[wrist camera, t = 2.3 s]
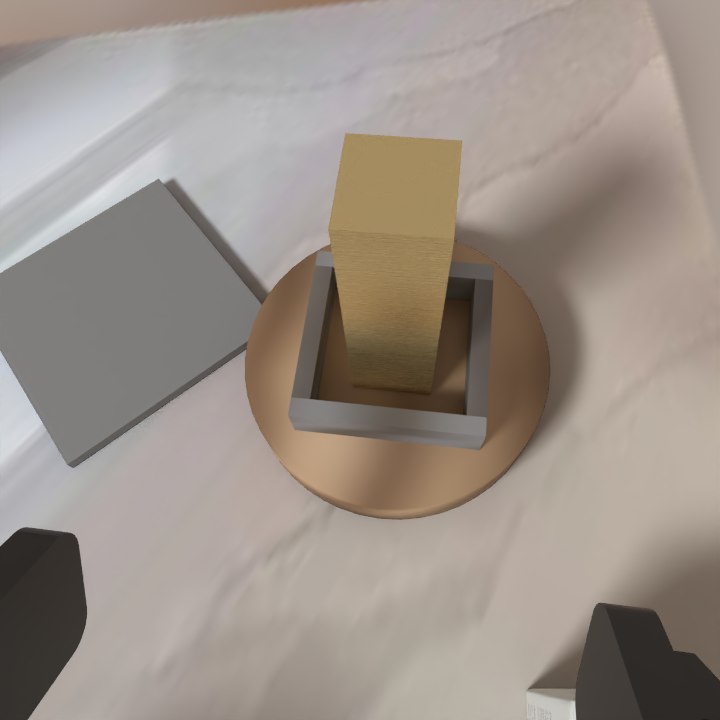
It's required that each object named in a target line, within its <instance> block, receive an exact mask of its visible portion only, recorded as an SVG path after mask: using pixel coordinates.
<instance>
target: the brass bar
mask: <svg viewBox="0 0 720 720" xmlns="http://www.w3.org/2000/svg"><path fill="white" fill-rule="evenodd" d="M461 148H462V141H459V140H443V139H427V138H411V137H396V136H380V135H364V134H348V133H345V138H344V144H343V150H342V155H341V161H340V167H339V172H338V178H337V184H336V189H335V195H334V201H333V206H332V212H331V217H330V223H329V236H330V242H331V249H332V255H333V262H334V268H335V274H336V281H337V287H338V294H339V300H340V307H341V313H342V320H343V326H344V332H345V339H346V345H347V352H348V358H349V365H350V371H351V378H352V384H353V387H357V388H367V389H376V390H386V391H396V392H406V393H416V394H426V395H430V394H431V387H432V381H433V374H434V368H435V361H436V355H437V348H438V342H439V335H440V329H441V322H442V316H443V309H444V303H445V296H446V290H447V283H448V276H449V270H450V263H451V257H452V250H453V244H454V236H455V223H456V211H457V198H458V186H459V173H460V161H461Z"/></svg>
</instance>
